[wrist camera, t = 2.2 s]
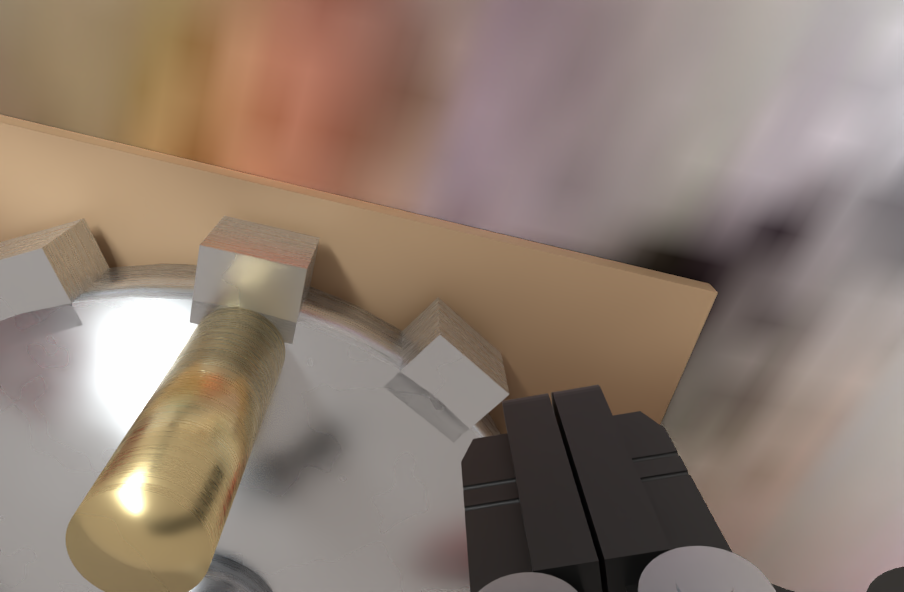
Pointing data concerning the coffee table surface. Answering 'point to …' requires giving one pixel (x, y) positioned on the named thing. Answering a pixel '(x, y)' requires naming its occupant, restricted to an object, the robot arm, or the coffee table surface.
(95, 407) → the sprocket
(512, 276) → the board
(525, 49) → the coffee table surface
